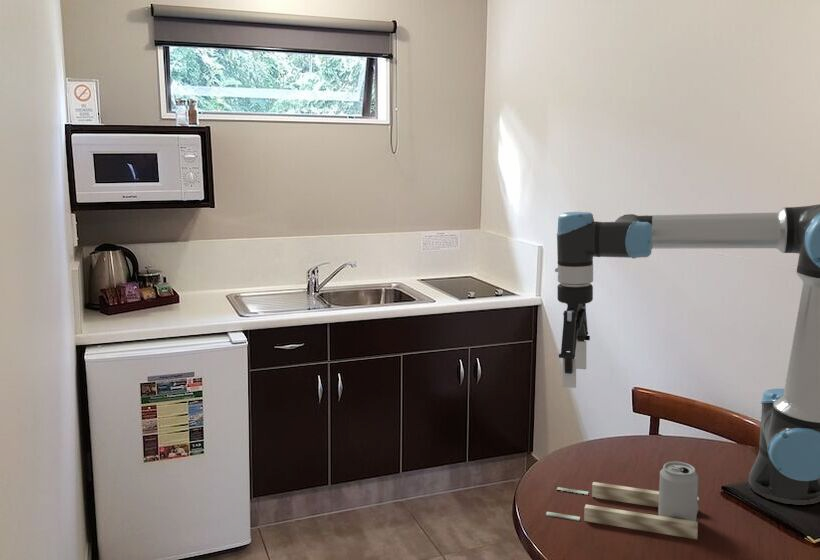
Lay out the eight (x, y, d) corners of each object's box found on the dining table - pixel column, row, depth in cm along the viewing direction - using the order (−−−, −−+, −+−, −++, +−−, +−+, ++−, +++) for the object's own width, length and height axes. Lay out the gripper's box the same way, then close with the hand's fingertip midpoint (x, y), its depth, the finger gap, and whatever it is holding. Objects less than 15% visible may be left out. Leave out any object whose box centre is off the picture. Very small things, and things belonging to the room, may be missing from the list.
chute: (698, 509, 156) (698, 496, 155) (697, 540, 144) (697, 526, 143) (557, 488, 167) (557, 476, 166) (545, 515, 155) (545, 502, 154)
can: (699, 531, 147) (702, 476, 145) (660, 528, 148) (662, 473, 146) (692, 513, 154) (695, 460, 152) (655, 510, 156) (657, 458, 153)
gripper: (568, 273, 171) (568, 360, 175) (545, 294, 148) (546, 393, 152) (600, 274, 168) (600, 362, 172) (583, 295, 145) (582, 397, 149)
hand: (574, 377), depth 162 cm, fingers open, 13 cm apart
